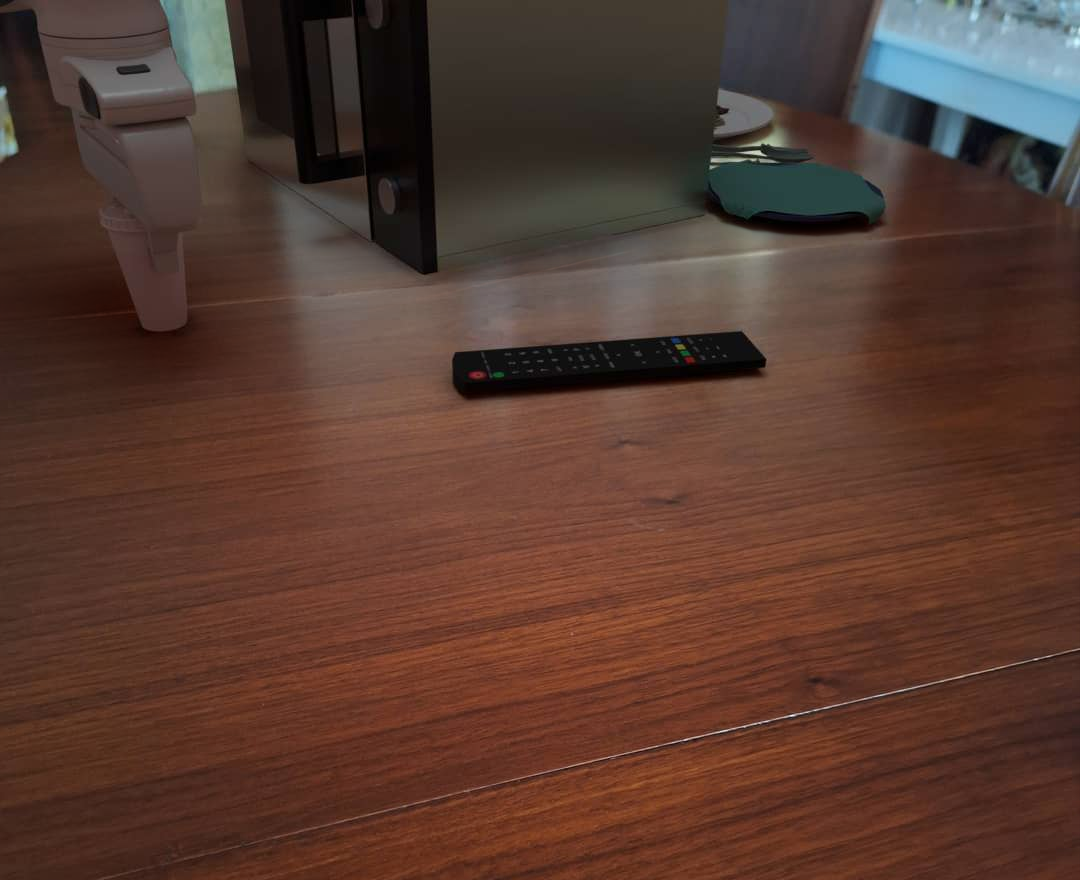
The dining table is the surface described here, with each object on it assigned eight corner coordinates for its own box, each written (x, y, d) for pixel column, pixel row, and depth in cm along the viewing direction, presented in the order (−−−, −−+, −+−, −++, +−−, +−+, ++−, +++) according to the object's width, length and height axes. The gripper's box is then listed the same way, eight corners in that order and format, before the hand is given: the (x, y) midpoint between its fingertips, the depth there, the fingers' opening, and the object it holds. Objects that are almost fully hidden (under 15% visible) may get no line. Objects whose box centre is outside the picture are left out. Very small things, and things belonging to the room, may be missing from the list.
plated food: (774, 157, 131) (778, 129, 129) (541, 143, 135) (541, 115, 133) (769, 102, 156) (772, 78, 154) (571, 92, 159) (572, 68, 157)
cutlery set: (713, 234, 107) (716, 212, 106) (676, 154, 131) (678, 135, 130) (904, 236, 108) (909, 214, 106) (831, 156, 132) (835, 137, 131)
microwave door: (319, 252, 100) (283, -80, 84) (202, 166, 123) (156, -108, 107) (385, 239, 104) (362, -83, 88) (259, 158, 126) (223, -110, 110)
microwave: (415, 278, 96) (396, -72, 80) (243, 162, 125) (203, -111, 109) (705, 214, 112) (738, -87, 96) (492, 125, 142) (490, -117, 126)
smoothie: (142, 345, 83) (102, 166, 75) (112, 319, 87) (71, 147, 79) (217, 325, 86) (186, 152, 78) (185, 301, 90) (152, 134, 82)
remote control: (764, 375, 81) (766, 359, 80) (458, 400, 76) (457, 383, 76) (739, 346, 85) (741, 330, 84) (448, 368, 81) (447, 352, 80)
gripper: (35, 51, 81) (78, 226, 89) (107, 105, 67) (149, 306, 75) (117, 44, 84) (151, 214, 92) (202, 94, 70) (233, 289, 78)
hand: (151, 256), depth 84 cm, fingers closed on smoothie, 6 cm apart
